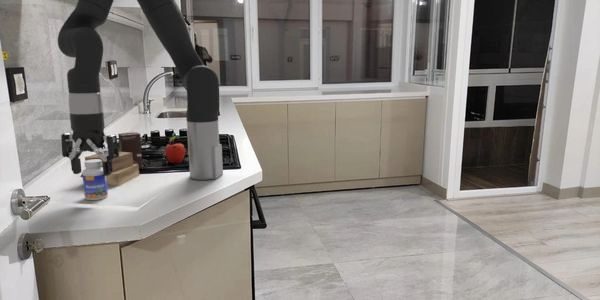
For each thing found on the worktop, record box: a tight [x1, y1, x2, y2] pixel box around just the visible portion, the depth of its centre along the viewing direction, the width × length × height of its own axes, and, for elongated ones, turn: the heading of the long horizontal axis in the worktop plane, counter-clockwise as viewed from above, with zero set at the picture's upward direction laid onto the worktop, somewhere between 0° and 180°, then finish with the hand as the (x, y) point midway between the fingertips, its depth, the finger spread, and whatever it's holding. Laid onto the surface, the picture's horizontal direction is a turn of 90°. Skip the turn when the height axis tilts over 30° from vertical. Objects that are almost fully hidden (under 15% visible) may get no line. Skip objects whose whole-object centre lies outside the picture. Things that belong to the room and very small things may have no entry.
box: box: [117, 131, 143, 169], centre depth 134 cm, size 6×4×12 cm
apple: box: [164, 135, 187, 164], centre depth 143 cm, size 8×7×10 cm
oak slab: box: [82, 164, 140, 187], centre depth 124 cm, size 11×11×4 cm
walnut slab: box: [84, 151, 133, 173], centre depth 123 cm, size 9×9×4 cm
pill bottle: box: [81, 159, 109, 201], centre depth 107 cm, size 5×5×10 cm
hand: (92, 174), depth 107 cm, fingers open, 8 cm apart
